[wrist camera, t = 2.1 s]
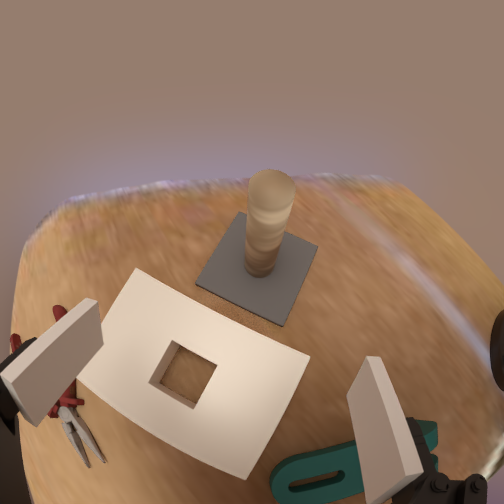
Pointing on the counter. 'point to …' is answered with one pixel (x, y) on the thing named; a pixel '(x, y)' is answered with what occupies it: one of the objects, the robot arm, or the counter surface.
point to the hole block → (217, 390)
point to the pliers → (68, 407)
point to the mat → (251, 288)
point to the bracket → (329, 460)
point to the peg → (266, 219)
